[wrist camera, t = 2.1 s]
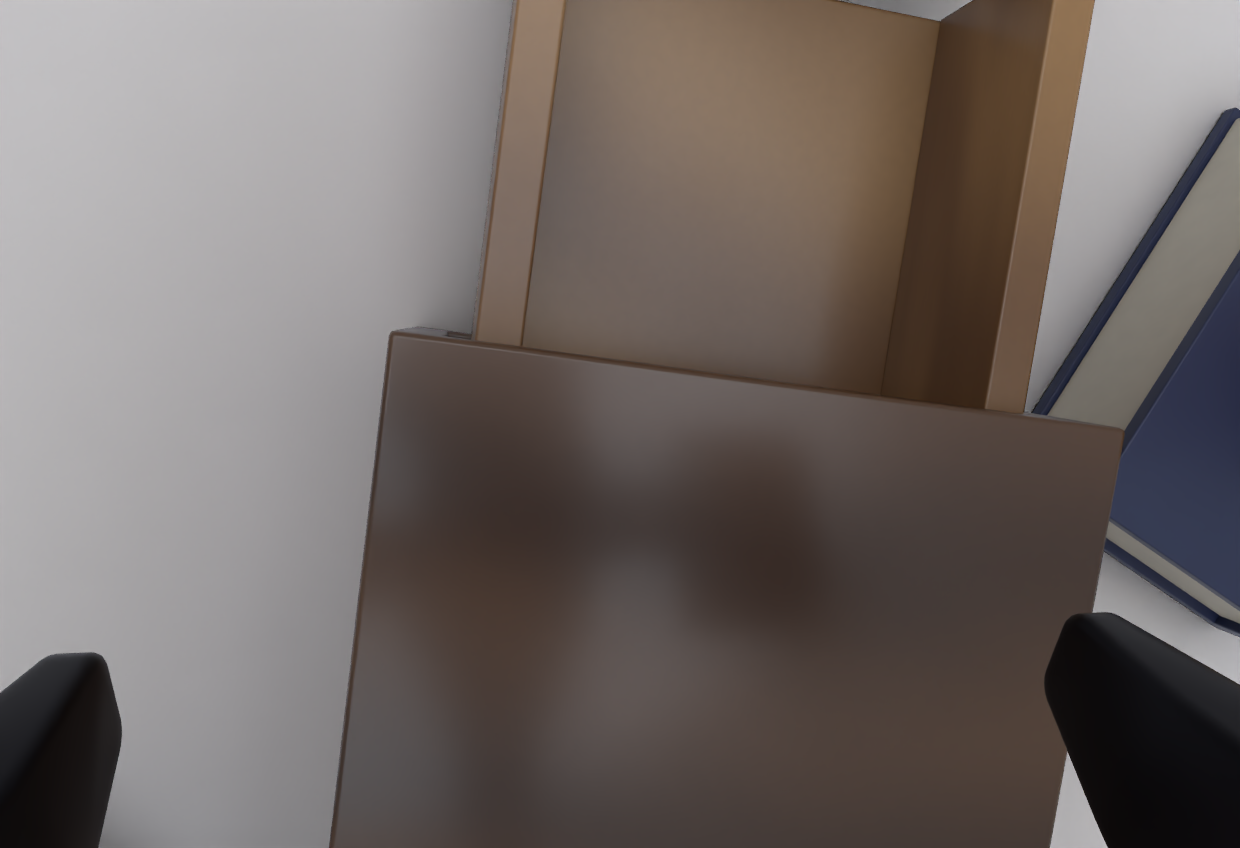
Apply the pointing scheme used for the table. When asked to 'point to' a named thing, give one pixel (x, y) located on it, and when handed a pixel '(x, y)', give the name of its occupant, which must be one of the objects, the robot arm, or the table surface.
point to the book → (1174, 389)
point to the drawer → (784, 189)
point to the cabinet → (707, 609)
